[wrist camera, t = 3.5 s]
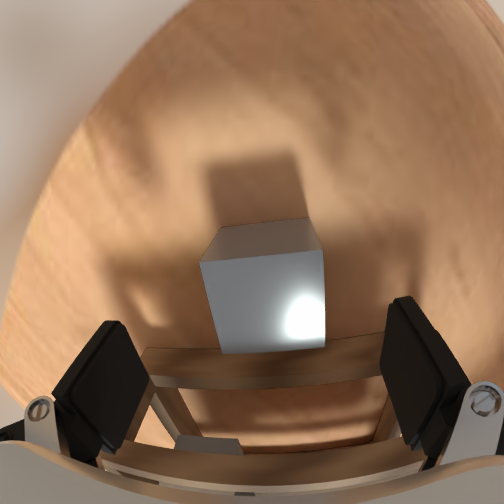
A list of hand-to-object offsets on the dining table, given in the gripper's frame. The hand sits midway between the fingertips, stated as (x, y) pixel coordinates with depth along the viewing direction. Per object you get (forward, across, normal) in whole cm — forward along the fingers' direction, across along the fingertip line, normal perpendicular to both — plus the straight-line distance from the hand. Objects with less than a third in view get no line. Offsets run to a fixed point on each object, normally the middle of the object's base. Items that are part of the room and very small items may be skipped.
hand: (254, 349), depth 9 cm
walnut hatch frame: (+8, 0, +16) cm, 18 cm away
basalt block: (+8, 0, +1) cm, 8 cm away
